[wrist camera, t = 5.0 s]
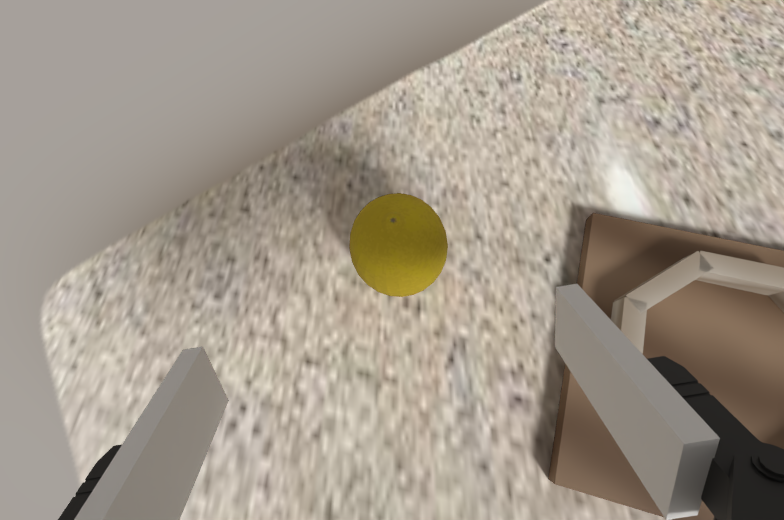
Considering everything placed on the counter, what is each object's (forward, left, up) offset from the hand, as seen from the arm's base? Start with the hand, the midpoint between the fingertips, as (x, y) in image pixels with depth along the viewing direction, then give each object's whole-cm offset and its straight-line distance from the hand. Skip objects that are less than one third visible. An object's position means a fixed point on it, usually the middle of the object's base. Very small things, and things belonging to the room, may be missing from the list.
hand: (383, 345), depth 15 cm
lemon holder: (-4, +18, -10) cm, 21 cm away
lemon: (-6, -1, -11) cm, 12 cm away
